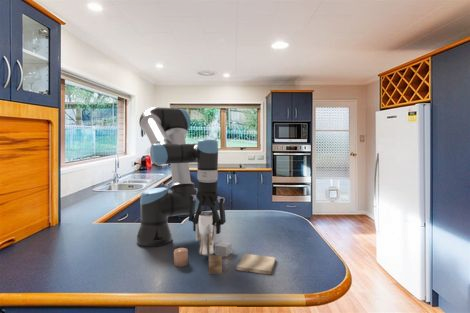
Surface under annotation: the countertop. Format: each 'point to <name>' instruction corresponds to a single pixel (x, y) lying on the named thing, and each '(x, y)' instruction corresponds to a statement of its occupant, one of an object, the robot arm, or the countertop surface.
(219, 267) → the oak cube
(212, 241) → the silver metal cup
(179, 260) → the peach rounded capsule
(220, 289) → the countertop surface
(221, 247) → the grey plastic box
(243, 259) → the beech board
